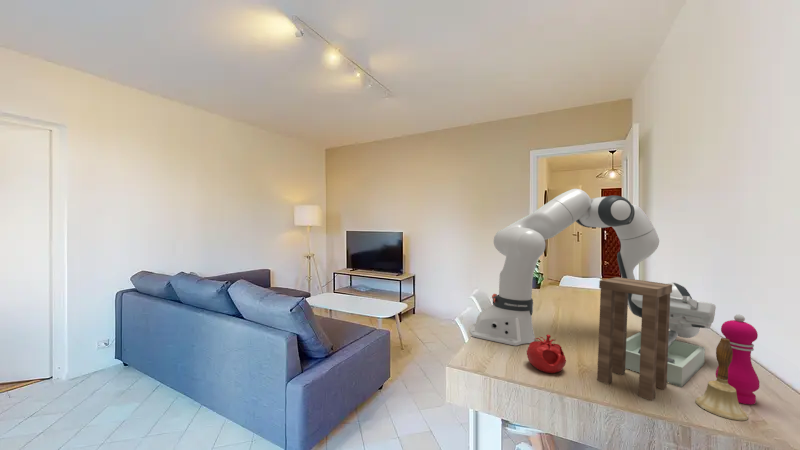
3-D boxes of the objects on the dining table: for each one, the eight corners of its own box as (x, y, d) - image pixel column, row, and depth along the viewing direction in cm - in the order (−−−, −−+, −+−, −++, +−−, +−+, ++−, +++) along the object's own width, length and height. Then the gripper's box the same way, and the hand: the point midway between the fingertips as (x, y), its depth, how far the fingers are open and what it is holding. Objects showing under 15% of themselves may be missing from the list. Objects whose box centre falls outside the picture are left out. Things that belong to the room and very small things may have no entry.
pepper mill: (738, 390, 79) (741, 311, 79) (768, 407, 72) (772, 320, 72) (706, 388, 80) (709, 309, 80) (733, 404, 73) (737, 318, 72)
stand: (614, 368, 89) (617, 277, 89) (668, 387, 80) (672, 284, 80) (595, 379, 82) (599, 280, 82) (652, 401, 73) (657, 289, 72)
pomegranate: (518, 363, 91) (520, 331, 91) (543, 358, 95) (545, 327, 95) (547, 379, 82) (549, 343, 82) (574, 373, 86) (575, 339, 86)
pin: (657, 332, 105) (657, 326, 104) (689, 341, 98) (689, 334, 98) (638, 358, 95) (637, 351, 95) (672, 369, 89) (672, 362, 88)
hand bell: (740, 407, 72) (743, 337, 72) (754, 426, 65) (757, 348, 65) (691, 395, 76) (694, 329, 76) (699, 411, 69) (702, 339, 69)
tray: (640, 346, 108) (640, 331, 108) (704, 363, 95) (704, 347, 95) (610, 363, 93) (610, 346, 93) (681, 387, 80) (682, 367, 80)
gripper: (639, 296, 113) (627, 280, 106) (720, 310, 96) (712, 292, 89) (635, 313, 111) (623, 297, 104) (717, 330, 95) (709, 313, 87)
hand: (665, 295), depth 96 cm, fingers open, 8 cm apart
